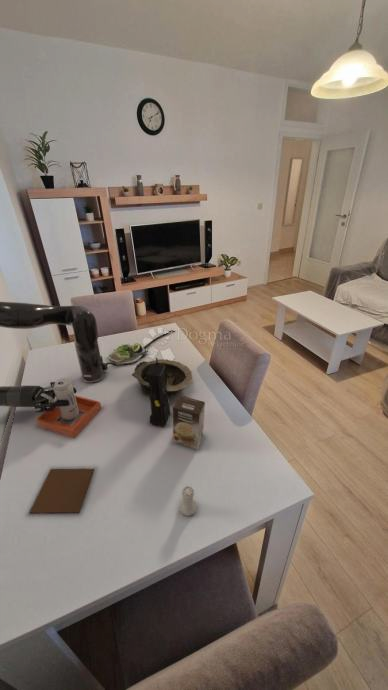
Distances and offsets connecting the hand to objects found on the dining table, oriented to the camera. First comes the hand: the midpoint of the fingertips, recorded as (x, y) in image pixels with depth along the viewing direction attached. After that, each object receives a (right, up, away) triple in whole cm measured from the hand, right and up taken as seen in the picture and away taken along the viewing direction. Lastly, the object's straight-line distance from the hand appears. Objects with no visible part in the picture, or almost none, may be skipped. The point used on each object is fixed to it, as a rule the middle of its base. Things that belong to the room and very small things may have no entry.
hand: (72, 396), depth 98 cm
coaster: (+6, -23, -20) cm, 31 cm away
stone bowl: (+30, 0, +22) cm, 38 cm away
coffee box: (+41, -14, -4) cm, 44 cm away
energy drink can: (-3, -8, +5) cm, 10 cm away
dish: (-3, -9, +5) cm, 10 cm away
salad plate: (+10, +13, +44) cm, 46 cm away
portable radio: (+31, -10, +4) cm, 33 cm away
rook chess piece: (+42, -26, -24) cm, 55 cm away
